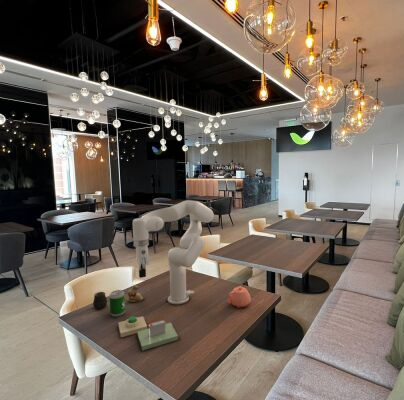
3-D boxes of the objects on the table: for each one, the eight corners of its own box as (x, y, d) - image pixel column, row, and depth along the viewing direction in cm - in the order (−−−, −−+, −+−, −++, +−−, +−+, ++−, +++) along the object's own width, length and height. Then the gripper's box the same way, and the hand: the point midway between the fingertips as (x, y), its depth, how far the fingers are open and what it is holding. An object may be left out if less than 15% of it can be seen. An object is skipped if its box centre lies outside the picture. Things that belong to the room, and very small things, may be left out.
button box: (143, 320, 137) (143, 312, 137) (147, 330, 128) (147, 322, 128) (118, 326, 132) (118, 318, 131) (120, 337, 123) (120, 329, 122)
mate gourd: (107, 303, 155) (106, 286, 154) (107, 309, 148) (106, 292, 147) (94, 305, 153) (93, 288, 152) (92, 311, 146) (91, 294, 145)
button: (135, 318, 132) (135, 315, 132) (136, 322, 129) (136, 318, 129) (128, 320, 130) (127, 317, 130) (129, 324, 127) (128, 320, 127)
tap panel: (170, 326, 132) (170, 322, 131) (178, 339, 121) (178, 335, 121) (137, 335, 124) (137, 331, 124) (142, 350, 114) (141, 346, 113)
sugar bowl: (254, 306, 151) (254, 289, 150) (233, 312, 144) (233, 294, 143) (243, 297, 162) (243, 281, 160) (223, 302, 155) (223, 285, 154)
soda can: (120, 318, 139) (119, 296, 138) (107, 316, 141) (106, 295, 139) (128, 310, 146) (127, 290, 145) (115, 309, 148) (114, 288, 147)
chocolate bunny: (131, 297, 162) (131, 282, 161) (143, 298, 160) (143, 282, 159) (127, 302, 156) (126, 285, 155) (139, 303, 155) (138, 286, 154)
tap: (164, 330, 125) (163, 319, 124) (165, 332, 123) (165, 321, 123) (149, 334, 122) (148, 323, 121) (150, 336, 120) (149, 326, 119)
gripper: (151, 244, 131) (153, 280, 133) (145, 238, 144) (147, 270, 146) (136, 246, 128) (137, 283, 130) (131, 240, 141) (132, 273, 143)
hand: (142, 276), depth 138 cm, fingers closed
